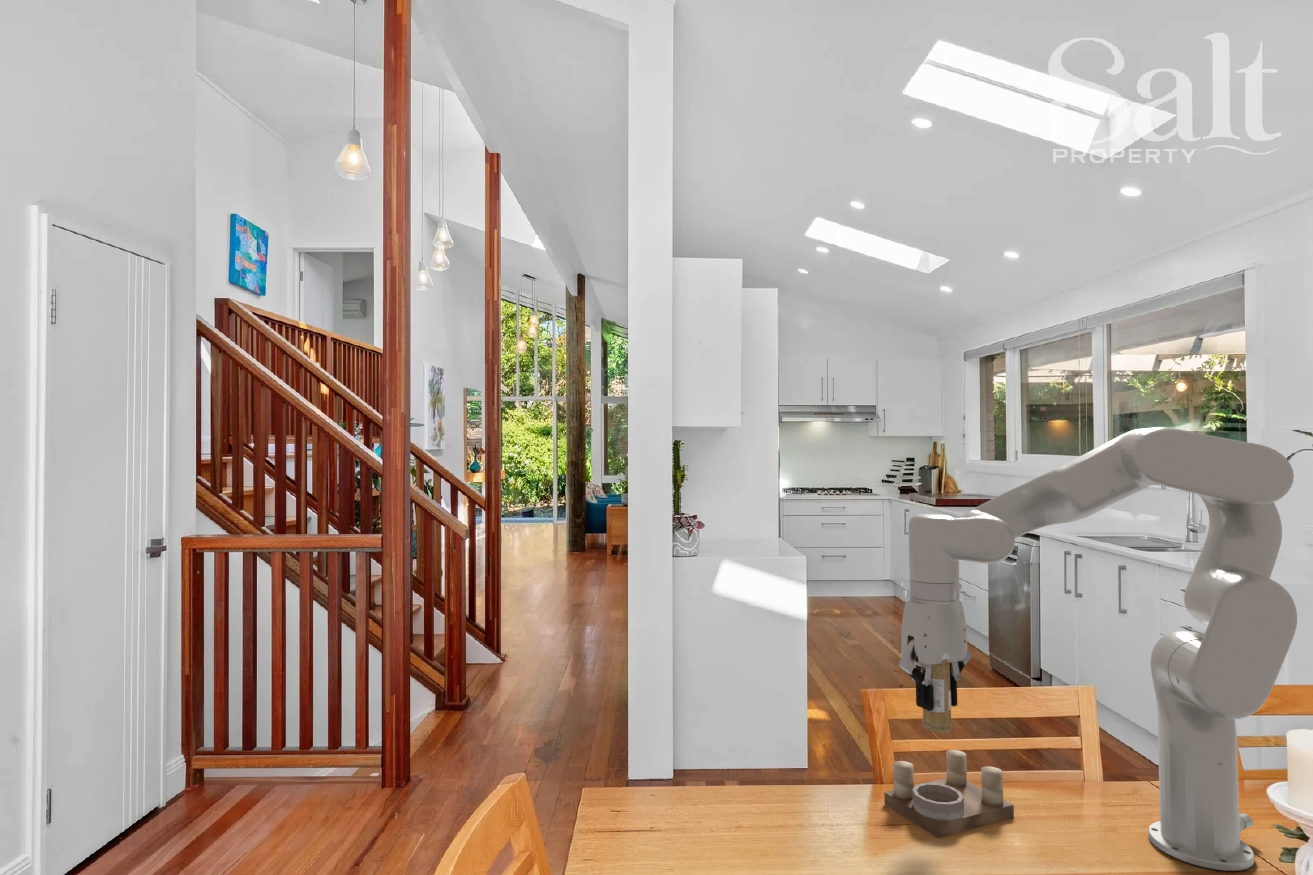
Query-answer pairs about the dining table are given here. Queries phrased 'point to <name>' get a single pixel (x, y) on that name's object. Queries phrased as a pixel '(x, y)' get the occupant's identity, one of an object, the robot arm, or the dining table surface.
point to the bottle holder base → (949, 797)
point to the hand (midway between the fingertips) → (936, 704)
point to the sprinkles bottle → (939, 699)
